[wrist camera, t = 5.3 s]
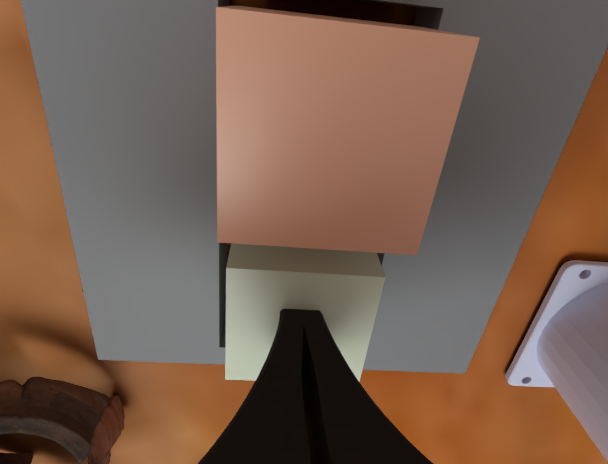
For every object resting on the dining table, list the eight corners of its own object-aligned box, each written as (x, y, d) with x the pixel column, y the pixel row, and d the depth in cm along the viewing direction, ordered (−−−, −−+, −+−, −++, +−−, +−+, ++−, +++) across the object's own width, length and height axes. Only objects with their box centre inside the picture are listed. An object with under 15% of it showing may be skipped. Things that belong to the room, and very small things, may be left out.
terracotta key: (418, 26, 11) (479, 37, 8) (383, 190, 14) (416, 255, 10) (237, 5, 11) (215, 7, 7) (234, 179, 13) (216, 242, 10)
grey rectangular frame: (704, -356, 9) (830, -464, 7) (445, 333, 20) (465, 373, 18) (-19, -513, 8) (-132, -705, 6) (119, 318, 19) (98, 359, 17)
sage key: (363, 218, 16) (385, 277, 13) (344, 312, 19) (358, 384, 15) (238, 209, 16) (226, 267, 12) (236, 307, 18) (225, 379, 15)
